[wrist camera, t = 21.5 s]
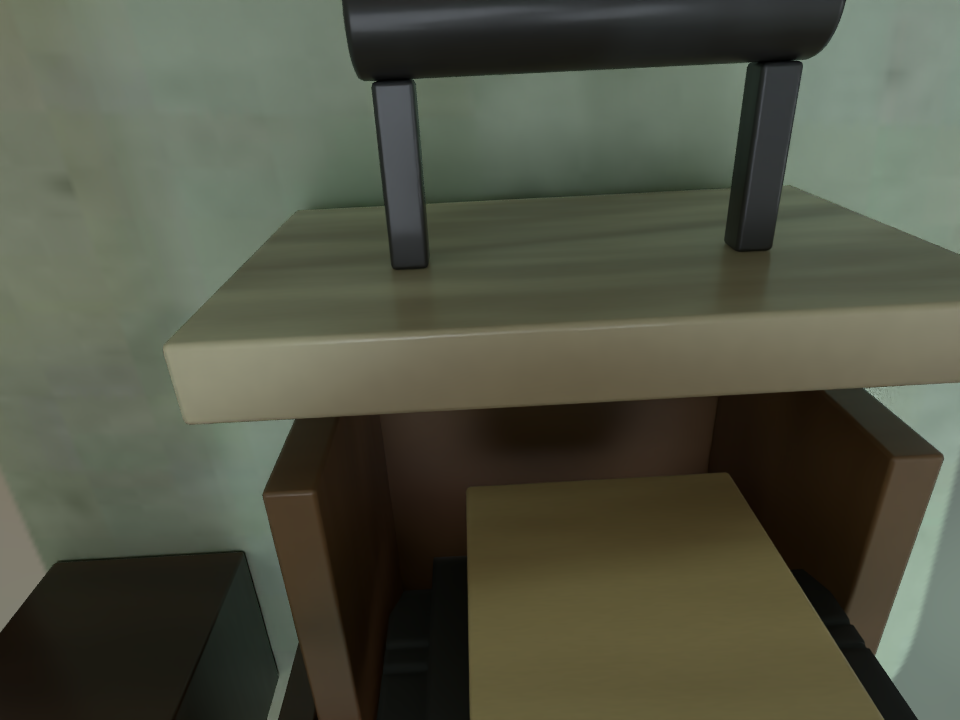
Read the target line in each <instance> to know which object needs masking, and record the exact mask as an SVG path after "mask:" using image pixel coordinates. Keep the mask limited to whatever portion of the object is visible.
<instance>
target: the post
mask: <svg viewBox="0 0 960 720" xmlns="http://www.w3.org/2000/svg"><path fill="white" fill-rule="evenodd" d="M278 678H279V676H278V672H277V669H276V665H275V662H274V658H273V655H272V651H271V648H270V644H269V640H268V637H267V633H266V630H265V626H264V623H263V619H262V615H261V612H260V608H259V605H258V601H257V598H256V594H255V590H254V587H253V583H252V580H251V576H250V573H249V569H248V566H247V562H246V558H245V555H244V553H243V552H230V553H213V554H195V555H178V556H160V557H143V558H125V559H108V560H91V561H73V562H57V563H55V564H53V566H52V567H51V568H50V570H49V571H48V572H47V573H46V575H45V576H44V577H43V579H42V580H41V581H40V582H39V584H38V585H37V586H36V588H35V589H34V590H33V591H32V593H31V594H30V595H29V597H28V598H27V599H26V600H25V602H24V603H23V604H22V605H21V607H20V608H19V609H18V611H17V612H16V613H15V614H14V616H13V617H12V618H11V620H10V621H9V622H8V623H7V625H6V626H5V627H4V629H3V630H2V631H1V632H0V720H267V717H268V713H269V710H270V706H271V703H272V699H273V696H274V692H275V689H276V685H277V681H278Z"/></svg>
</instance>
